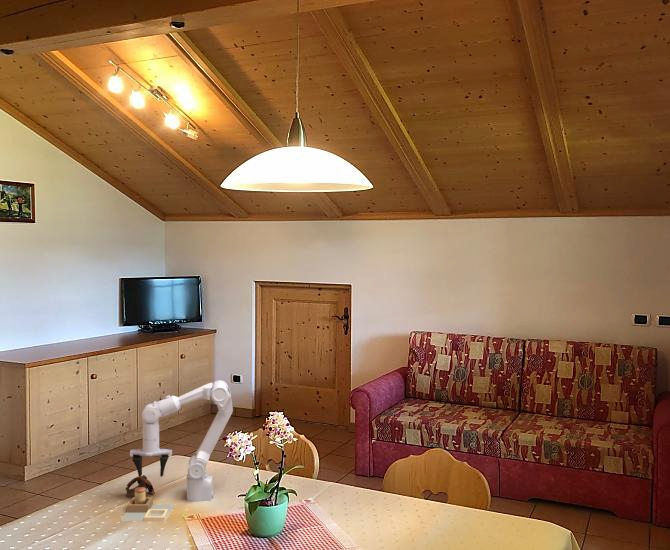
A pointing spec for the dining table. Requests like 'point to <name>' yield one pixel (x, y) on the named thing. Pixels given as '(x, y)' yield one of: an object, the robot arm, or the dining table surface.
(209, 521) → the dining table surface
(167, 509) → the mount
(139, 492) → the pin
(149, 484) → the brown curved piece
